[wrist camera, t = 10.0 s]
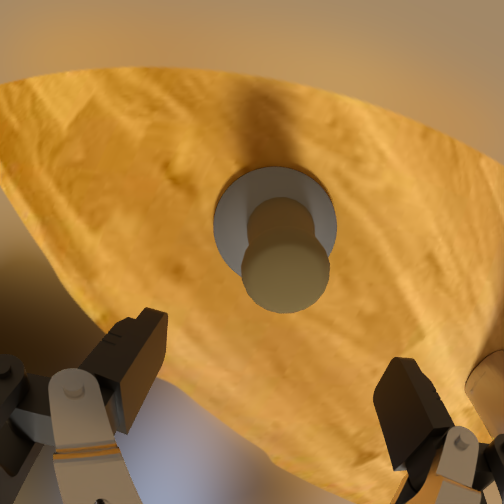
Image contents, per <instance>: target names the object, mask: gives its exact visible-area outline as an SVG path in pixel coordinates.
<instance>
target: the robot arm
mask: <svg viewBox="0 0 504 504" xmlns="http://www.w3.org/2000/svg"><path fill="white" fill-rule="evenodd" d="M167 326H168V314H167V313H165V312H162V311H158V310H155V309H151V308H148V307H146V308H144V309H143V311H142V312H141V313H140V314H139V316H138V317H137V318H136V319H133V318H130V317H127V318H125V319H123V320H121V321H119V322H117V323H116V324H115V325H114V326H113V327H112V328H111V329H110V331H109V332H108V334H106V335H105V336H104V338H103V339H102V341H100V342H99V344H98V345H97V346H96V347H95V348H94V349H93V351H92V352H91V353H90V354H89V355H88V357H87V358H86V359H85V360H84V361H83V363H82V364H81V365H80V366H79V367H78V369H65V370H62V371H60V372H58V373H56V374H55V375H54V376H53V377H52V378H49V377H44V376H39V375H34V374H29V373H26V371H25V368H24V365H23V363H22V362H21V360H20V359H18V358H17V357H15V356H13V355H8V354H1V355H0V504H13V503H14V501H15V498H16V496H17V495H18V492H19V490H20V488H21V486H22V485H23V483H24V481H25V479H26V477H27V475H28V473H29V471H30V469H31V467H32V466H33V464H34V462H35V460H36V458H37V456H38V455H39V453H40V451H41V449H42V447H43V446H44V444H47V445H51V446H55V447H56V453H54V454H53V462H54V467H55V472H56V476H57V480H58V485H59V489H60V492H61V496H62V499H63V503H64V504H143V503H142V501H141V499H140V497H139V495H138V493H137V491H136V488H135V486H134V484H133V482H132V479H131V477H130V474H129V472H128V470H127V467H126V464H125V462H124V459H123V457H122V454H121V452H120V449H119V447H118V446H117V444H116V441H115V438H114V435H115V433H116V431H119V432H121V433H124V434H128V432H129V430H130V428H131V426H132V424H133V422H134V420H135V418H136V416H137V414H138V412H139V410H140V408H141V406H142V404H143V401H144V400H145V398H146V396H147V394H148V392H149V390H150V388H151V386H152V384H153V382H154V380H155V378H156V376H157V374H158V372H159V370H160V368H161V366H162V364H163V361H164V357H165V353H166V340H167ZM465 393H466V395H467V396H468V398H469V400H470V401H471V403H472V404H473V406H474V408H475V410H476V411H477V413H478V415H479V416H480V418H481V420H482V421H483V423H484V425H485V427H486V428H487V430H488V432H489V434H490V435H491V437H492V439H493V441H492V442H491V443H490V444H485V443H478V440H477V438H476V436H475V435H474V434H473V433H472V432H471V431H470V430H469V429H467V428H464V427H461V426H455V425H454V423H453V421H452V419H451V417H450V415H449V413H448V411H447V409H446V408H445V406H444V404H443V402H442V400H440V399H441V398H440V396H439V395H438V393H436V389H435V387H434V386H433V384H432V382H431V381H430V380H429V379H428V378H427V377H426V376H425V375H424V374H423V373H422V372H421V370H420V368H419V366H418V365H417V363H416V361H415V360H414V359H412V358H402V357H394V358H393V359H392V360H391V362H390V363H389V365H388V367H387V369H386V371H385V372H384V374H383V376H382V378H381V379H380V381H379V383H378V385H377V386H376V388H375V391H374V395H373V403H374V406H375V409H376V412H377V415H378V419H379V422H380V425H381V428H382V432H383V435H384V438H385V442H386V445H387V449H388V452H389V456H390V459H391V463H392V466H393V470H394V471H401V470H407V472H408V474H407V475H406V476H405V477H404V478H403V479H402V481H401V483H400V485H399V487H398V489H397V491H396V493H395V495H394V497H393V499H392V501H391V503H390V504H487V502H486V499H485V496H484V493H483V490H484V489H485V488H486V487H487V486H489V485H490V484H491V483H492V482H493V481H494V480H495V482H496V484H497V487H498V490H499V492H500V496H501V499H502V504H504V351H501V350H500V351H497V352H494V353H492V354H491V355H489V356H488V357H486V358H485V359H484V360H483V361H482V362H481V363H480V364H479V365H478V366H477V367H476V368H475V369H474V371H473V372H472V373H471V375H470V377H469V378H468V380H467V383H466V385H465Z"/></svg>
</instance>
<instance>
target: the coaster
mask: <svg viewBox="0 0 504 504" xmlns="http://www.w3.org/2000/svg"><path fill="white" fill-rule="evenodd" d="M274 197H287V198H290V199H294V200H297V201H298V202H299V203H301V204H302V205H304V206H305V207H306V208H307V210H308V211H309V212H310V214H311V215H312V218H313V222H314V225H315V237H316V238H317V239H318V240H319V242H320V243H321V245H322V246H323V247H324V249H325V250H326V253H327V256H328V257H329V255H330V253H331V251H332V249H333V246H334V243H335V239H336V232H337V221H336V215H335V211H334V208H333V205H332V203H331V201H330V199H329V197H328V195H327V194H326V192H325V191H324V190H323V189H322V187H321V186H320V185H319V184H318V183H317V182H315V181H314V180H313V179H312V178H310V177H309V176H307V175H305V174H303V173H301V172H299V171H297V170H294V169H290V168H285V167H264V168H260V169H256V170H254V171H251V172H249V173H247V174H245V175H243V176H241V177H240V178H239V179H237V180H236V181H235V182H234V183H233V184H232V185H231V186H230V187H229V188H228V189H227V190H226V191H225V193H224V194H223V196H222V197H221V199H220V201H219V203H218V206H217V208H216V212H215V216H214V237H215V242H216V245H217V248H218V250H219V252H220V254H221V256H222V258H223V259H224V261H225V262H226V263H227V265H228V266H229V267H230V268H231V269H232V270H233V271H234V272H235V273H237V274H238V275H239V276H241V264H242V261H243V257H244V253H245V250H246V249H247V247H248V246H249V243H248V238H247V224H248V221H249V217H250V215H251V214H252V212H253V211H254V209H255V208H256V207H257V206H258V205H260V204H261V203H262V202H264V201H266V200H268V199H271V198H274ZM241 277H242V276H241Z"/></svg>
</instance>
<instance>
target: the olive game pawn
mask: <svg viewBox="0 0 504 504" xmlns="http://www.w3.org/2000/svg"><path fill="white" fill-rule="evenodd" d="M247 238H248V243H249V246H248V247H247V249H246V250H245V253H244V257H243V261H242V264H241V276H242V281H243V284H244V286H245V288H246V291H247V293H248V295H249V296H250V297H251V298H252V299H253V301H254V302H255V303H256V304H258V305H259V306H261V307H263V308H264V309H266V310H268V311H272V312H276V313H295V312H298V311H301V310H304V309H306V308H308V307H309V306H311V305H312V304H314V303H315V302H316V301H317V300H318V299H319V298H320V296H321V295H322V294H323V293H324V291H325V288H326V286H327V283H328V281H329V271H330V263H329V259H328V256H327V253H326V250H325V249H324V247H323V246H322V245H321V243H320V242H319V240H318V239H317V238H316V237H315V225H314V222H313V218H312V215H311V214H310V212H309V211H308V210H307V208H306V207H305V206H304V205H302V204H301V203H299V202H298V201H297V200H294V199H290V198H287V197H274V198H271V199H268V200H266V201H264V202H262V203H261V204H260V205H258V206H257V207H256V208H255V209H254V211H253V212H252V214H251V215H250V217H249V221H248V224H247Z"/></svg>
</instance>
